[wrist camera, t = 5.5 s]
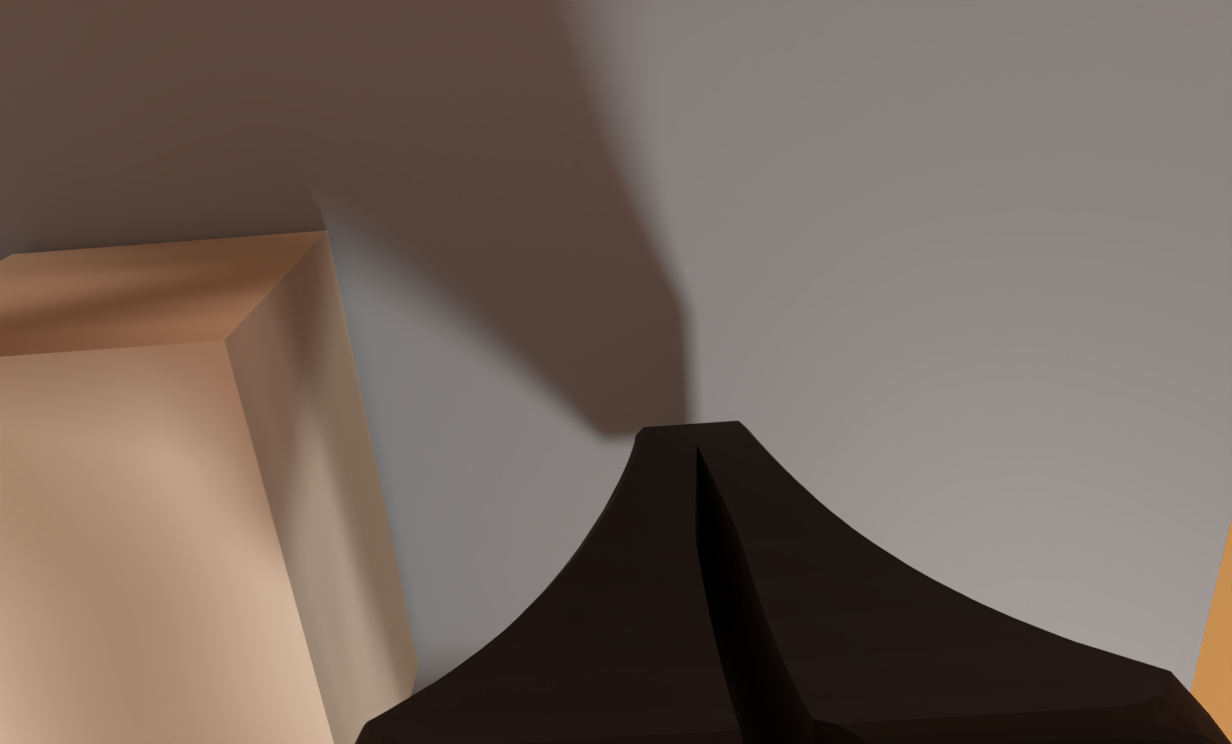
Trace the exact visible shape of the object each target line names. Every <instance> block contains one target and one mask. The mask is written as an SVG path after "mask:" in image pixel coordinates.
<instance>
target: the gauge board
mask: <svg viewBox="0 0 1232 744" xmlns="http://www.w3.org/2000/svg"><path fill="white" fill-rule="evenodd" d="M326 230H327V231H328V236H329V240H330V245H331V250H332V255H333V259H334V264H335V269H336V274H337V278H338V283H339V288H340V293H341V298H342V302H343V307H344V312H345V317H346V321H347V326H348V331H349V336H350V340H351V345H352V350H353V355H354V359H355V364H356V369H357V374H358V378H359V383H360V388H361V393H362V397H363V402H364V407H365V412H366V416H367V421H368V426H369V431H370V435H371V440H372V445H373V450H374V454H375V459H376V464H377V469H378V473H379V478H380V483H381V488H382V492H383V497H384V502H385V507H386V511H387V516H388V521H389V526H390V530H391V535H392V540H393V545H394V549H395V554H396V559H397V564H398V568H399V573H400V578H401V583H402V587H403V592H404V597H405V602H406V606H407V611H408V616H409V621H410V625H411V630H412V635H413V640H414V644H415V649H416V654H417V659H418V663H419V665H418V669H417V673H416V677H415V681H414V685H413V688H412V692H411V696H412V695H414V694H416V693H417V692H419V691H421V690H422V689H424V688H425V687H427V686H429V685H430V684H432V683H434V682H435V681H437V680H438V679H440V678H441V677H443V676H444V675H446V674H447V673H449V672H450V671H452V670H453V669H454V668H456V667H457V666H459V665H460V664H461V663H463V662H464V661H465V660H467V659H468V658H470V657H471V656H472V655H474V654H475V653H476V652H478V651H479V650H480V649H482V648H483V647H484V646H485V645H487V644H488V643H489V642H490V641H492V640H493V639H494V638H495V637H497V636H498V635H499V634H500V633H501V632H503V631H504V630H505V629H506V628H507V627H508V626H509V625H510V624H511V623H512V622H514V621H515V620H516V619H517V618H518V617H519V616H520V615H521V614H522V613H523V612H524V611H525V610H526V609H527V608H528V607H529V605H530V604H531V603H532V602H533V601H534V600H535V599H536V598H537V597H538V596H539V595H540V594H541V593H542V592H543V591H544V590H545V589H546V588H547V587H548V585H549V584H550V583H551V582H552V581H553V580H554V578H555V577H556V576H557V575H558V574H559V572H560V571H561V570H562V569H563V568H564V566H565V565H566V564H567V563H568V561H569V560H570V559H571V557H572V556H573V555H574V553H575V552H576V551H577V549H578V548H579V546H580V545H581V543H582V542H583V540H584V539H585V537H586V536H587V534H588V533H589V531H590V530H591V528H592V527H593V525H594V524H595V522H596V521H597V519H598V518H599V516H600V515H601V513H602V511H603V510H604V508H605V506H606V504H607V502H608V500H609V499H610V497H611V495H612V493H613V491H614V489H615V487H616V485H617V484H618V482H619V480H620V478H621V476H622V473H623V471H624V469H625V467H626V464H627V462H628V460H629V457H630V454H631V452H632V448H633V445H634V441H635V435H636V434H637V433H638V432H639V431H640V430H641V429H642V428H643V427H652V426H667V425H681V424H696V423H710V422H724V421H740V422H741V423H742V424H743V425H744V426H745V427H746V428H748V430H749V431H750V432H751V433H752V434H753V435H754V436H755V438H756V439H757V440H758V441H759V442H760V443H761V444H762V445H763V446H764V447H765V449H766V450H767V451H768V452H769V453H770V454H771V455H772V456H773V457H774V458H775V459H776V460H777V461H778V462H779V463H780V464H781V465H782V466H783V467H784V468H785V469H786V470H787V471H788V472H789V473H790V474H791V475H792V476H793V477H794V478H795V479H796V480H797V481H798V482H799V483H800V484H801V485H802V486H803V487H805V488H806V489H807V490H808V491H809V492H810V493H811V494H812V495H813V496H814V497H815V498H816V499H818V500H819V501H820V502H821V503H822V504H823V505H824V506H826V507H827V508H828V509H829V510H830V511H832V512H833V513H834V514H835V515H837V516H838V517H839V518H840V519H842V520H843V521H844V522H846V523H847V524H848V525H849V526H851V527H852V528H853V529H855V530H856V531H857V532H859V533H860V534H862V535H863V536H864V537H866V538H867V539H869V540H870V541H871V542H873V543H875V544H876V545H878V546H879V547H881V548H882V549H884V550H886V551H887V552H889V553H890V554H892V555H893V556H895V557H896V558H898V559H900V560H901V561H903V562H904V563H906V564H907V565H909V566H911V567H912V568H914V569H916V570H918V571H920V572H921V573H923V574H925V575H927V576H928V577H930V578H932V579H934V580H936V581H938V582H940V583H942V584H944V585H946V586H948V587H950V588H951V589H953V590H955V591H957V592H959V593H961V594H963V595H965V596H967V597H969V598H971V599H973V600H975V601H977V602H979V603H981V604H984V605H986V606H988V607H990V608H993V609H995V610H997V611H1000V612H1002V613H1004V614H1006V615H1009V616H1011V617H1013V618H1016V619H1018V620H1021V621H1023V622H1026V623H1028V624H1031V625H1033V626H1036V627H1039V628H1041V629H1044V630H1046V631H1049V632H1051V633H1054V634H1056V635H1059V636H1061V637H1064V638H1067V639H1070V640H1073V641H1075V642H1079V643H1082V644H1085V645H1088V646H1091V647H1095V648H1098V649H1101V650H1104V651H1108V652H1111V653H1114V654H1117V655H1120V656H1124V657H1127V658H1130V659H1133V660H1137V661H1140V662H1143V663H1146V664H1149V665H1153V666H1156V667H1159V668H1162V669H1166V670H1169V671H1171V672H1172V673H1173V674H1174V675H1175V676H1176V678H1177V679H1178V680H1179V681H1180V682H1181V683H1182V684H1183V685H1184V686H1185V688H1186V689H1187V690H1188V691H1189V692H1190V691H1191V687H1192V682H1193V678H1194V674H1195V670H1196V666H1197V661H1198V657H1199V653H1200V649H1201V645H1202V641H1203V636H1204V632H1205V628H1206V624H1207V620H1208V615H1209V611H1210V607H1211V603H1212V599H1213V595H1214V590H1215V586H1216V582H1217V578H1218V574H1219V569H1220V565H1221V561H1222V557H1223V553H1224V548H1225V544H1226V540H1227V536H1228V532H1229V528H1230V523H1231V519H1232V0H0V261H1V260H3V259H4V258H6V257H8V256H10V255H12V254H22V253H35V252H48V251H61V250H75V249H88V248H101V247H114V246H127V245H141V244H154V243H167V242H180V241H194V240H207V239H220V238H233V237H247V236H260V235H273V234H286V233H299V232H313V231H326ZM411 696H410V697H411Z"/></svg>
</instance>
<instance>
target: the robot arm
mask: <svg viewBox="0 0 1232 744" xmlns="http://www.w3.org/2000/svg"><path fill="white" fill-rule="evenodd" d="M355 744H1231V742H1230V741H1229V740H1228V738H1227V737H1226V736H1225V734H1224V733H1223V732H1222V730H1221V729H1220V728H1219V727H1218V725H1217V724H1216V723H1215V721H1214V720H1213V719H1212V717H1211V716H1210V715H1209V714H1208V712H1207V711H1206V710H1205V709H1204V708H1203V707H1202V706H1201V705H1200V703H1199V702H1198V701H1197V700H1196V699H1195V698H1194V697H1193V695H1192V694H1191V693H1190V692H1189V691H1188V690H1187V689H1186V688H1185V686H1184V685H1183V684H1182V683H1181V682H1180V681H1179V680H1178V679H1177V678H1176V676H1175V675H1174V674H1173V673H1172V672H1171V671H1169V670H1166V669H1162V668H1159V667H1156V666H1153V665H1149V664H1146V663H1143V662H1140V661H1137V660H1133V659H1130V658H1127V657H1124V656H1120V655H1117V654H1114V653H1111V652H1108V651H1104V650H1101V649H1098V648H1095V647H1091V646H1088V645H1085V644H1082V643H1079V642H1075V641H1073V640H1070V639H1067V638H1064V637H1061V636H1059V635H1056V634H1054V633H1051V632H1049V631H1046V630H1044V629H1041V628H1039V627H1036V626H1033V625H1031V624H1028V623H1026V622H1023V621H1021V620H1018V619H1016V618H1013V617H1011V616H1009V615H1006V614H1004V613H1002V612H1000V611H997V610H995V609H993V608H990V607H988V606H986V605H984V604H981V603H979V602H977V601H975V600H973V599H971V598H969V597H967V596H965V595H963V594H961V593H959V592H957V591H955V590H953V589H951V588H950V587H948V586H946V585H944V584H942V583H940V582H938V581H936V580H934V579H932V578H930V577H928V576H927V575H925V574H923V573H921V572H920V571H918V570H916V569H914V568H912V567H911V566H909V565H907V564H906V563H904V562H903V561H901V560H900V559H898V558H896V557H895V556H893V555H892V554H890V553H889V552H887V551H886V550H884V549H882V548H881V547H879V546H878V545H876V544H875V543H873V542H871V541H870V540H869V539H867V538H866V537H864V536H863V535H862V534H860V533H859V532H857V531H856V530H855V529H853V528H852V527H851V526H849V525H848V524H847V523H846V522H844V521H843V520H842V519H840V518H839V517H838V516H837V515H835V514H834V513H833V512H832V511H830V510H829V509H828V508H827V507H826V506H824V505H823V504H822V503H821V502H820V501H819V500H818V499H816V498H815V497H814V496H813V495H812V494H811V493H810V492H809V491H808V490H807V489H806V488H805V487H803V486H802V485H801V484H800V483H799V482H798V481H797V480H796V479H795V478H794V477H793V476H792V475H791V474H790V473H789V472H788V471H787V470H786V469H785V468H784V467H783V466H782V465H781V464H780V463H779V462H778V461H777V460H776V459H775V458H774V457H773V456H772V455H771V454H770V453H769V452H768V451H767V450H766V449H765V447H764V446H763V445H762V444H761V443H760V442H759V441H758V440H757V439H756V438H755V436H754V435H753V434H752V433H751V432H750V431H749V430H748V428H746V427H745V426H744V425H743V424H742V423H741V422H740V421H724V422H710V423H696V424H681V425H667V426H652V427H643V428H642V429H641V430H640V431H639V432H638V433H637V434H636V435H635V441H634V445H633V448H632V452H631V454H630V457H629V460H628V462H627V464H626V467H625V469H624V471H623V473H622V476H621V478H620V480H619V482H618V484H617V485H616V487H615V489H614V491H613V493H612V495H611V497H610V499H609V500H608V502H607V504H606V506H605V508H604V510H603V511H602V513H601V515H600V516H599V518H598V519H597V521H596V522H595V524H594V525H593V527H592V528H591V530H590V531H589V533H588V534H587V536H586V537H585V539H584V540H583V542H582V543H581V545H580V546H579V548H578V549H577V551H576V552H575V553H574V555H573V556H572V557H571V559H570V560H569V561H568V563H567V564H566V565H565V566H564V568H563V569H562V570H561V571H560V572H559V574H558V575H557V576H556V577H555V578H554V580H553V581H552V582H551V583H550V584H549V585H548V587H547V588H546V589H545V590H544V591H543V592H542V593H541V594H540V595H539V596H538V597H537V598H536V599H535V600H534V601H533V602H532V603H531V604H530V605H529V607H528V608H527V609H526V610H525V611H524V612H523V613H522V614H521V615H520V616H519V617H518V618H517V619H516V620H515V621H514V622H512V623H511V624H510V625H509V626H508V627H507V628H506V629H505V630H504V631H503V632H501V633H500V634H499V635H498V636H497V637H495V638H494V639H493V640H492V641H490V642H489V643H488V644H487V645H485V646H484V647H483V648H482V649H480V650H479V651H478V652H476V653H475V654H474V655H472V656H471V657H470V658H468V659H467V660H465V661H464V662H463V663H461V664H460V665H459V666H457V667H456V668H454V669H453V670H452V671H450V672H449V673H447V674H446V675H444V676H443V677H441V678H440V679H438V680H437V681H435V682H434V683H432V684H430V685H429V686H427V687H425V688H424V689H422V690H421V691H419V692H417V693H416V694H414V695H412V696H411V697H409V698H407V699H406V700H404V701H402V702H401V703H399V704H397V705H396V706H394V707H392V708H391V709H389V710H387V711H386V712H384V713H382V714H380V715H379V716H377V717H375V718H373V719H371V720H369V721H367V722H366V724H365V725H364V726H363V728H362V730H361V732H360V734H359V736H358V738H357V740H356V742H355Z"/></svg>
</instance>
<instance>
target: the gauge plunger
mask: <svg viewBox="0 0 1232 744" xmlns="http://www.w3.org/2000/svg"><path fill="white" fill-rule="evenodd" d="M418 665H419V663H418V659H417V654H416V649H415V644H414V640H413V635H412V630H411V625H410V621H409V616H408V611H407V606H406V602H405V597H404V592H403V587H402V583H401V578H400V573H399V568H398V564H397V559H396V554H395V549H394V545H393V540H392V535H391V530H390V526H389V521H388V516H387V511H386V507H385V502H384V497H383V492H382V488H381V483H380V478H379V473H378V469H377V464H376V459H375V454H374V450H373V445H372V440H371V435H370V431H369V426H368V421H367V416H366V412H365V407H364V402H363V397H362V393H361V388H360V383H359V378H358V374H357V369H356V364H355V359H354V355H353V350H352V345H351V340H350V336H349V331H348V326H347V321H346V317H345V312H344V307H343V302H342V298H341V293H340V288H339V283H338V278H337V274H336V269H335V264H334V259H333V255H332V250H331V245H330V240H329V236H328V231H327V230H326V231H313V232H299V233H286V234H273V235H260V236H247V237H233V238H220V239H207V240H194V241H180V242H167V243H154V244H141V245H127V246H114V247H101V248H88V249H75V250H61V251H48V252H35V253H22V254H12V255H10V256H8V257H6V258H4V259H3V260H1V261H0V744H355V742H356V740H357V738H358V736H359V734H360V732H361V730H362V728H363V726H364V725H365V724H366V722H367V721H369V720H371V719H373V718H375V717H377V716H379V715H380V714H382V713H384V712H386V711H387V710H389V709H391V708H392V707H394V706H396V705H397V704H399V703H401V702H402V701H404V700H406V699H407V698H409V697H410V696H411V692H412V688H413V685H414V681H415V677H416V673H417V669H418Z"/></svg>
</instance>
